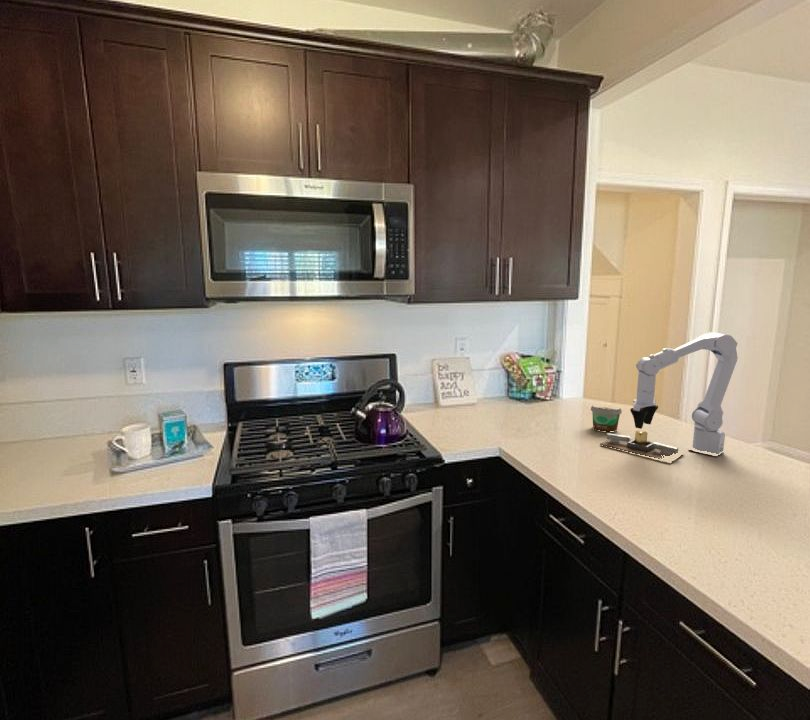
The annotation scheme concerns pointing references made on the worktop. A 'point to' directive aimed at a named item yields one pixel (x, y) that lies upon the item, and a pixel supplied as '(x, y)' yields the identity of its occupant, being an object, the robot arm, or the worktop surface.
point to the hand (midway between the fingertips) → (643, 425)
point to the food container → (605, 418)
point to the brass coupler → (641, 438)
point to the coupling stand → (639, 446)
